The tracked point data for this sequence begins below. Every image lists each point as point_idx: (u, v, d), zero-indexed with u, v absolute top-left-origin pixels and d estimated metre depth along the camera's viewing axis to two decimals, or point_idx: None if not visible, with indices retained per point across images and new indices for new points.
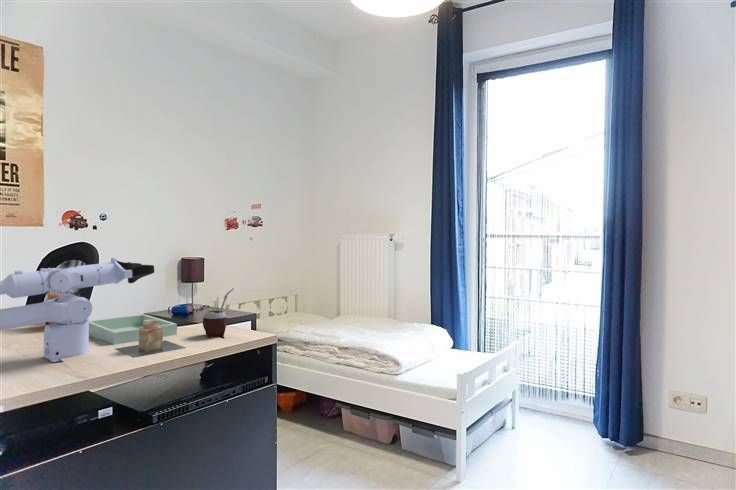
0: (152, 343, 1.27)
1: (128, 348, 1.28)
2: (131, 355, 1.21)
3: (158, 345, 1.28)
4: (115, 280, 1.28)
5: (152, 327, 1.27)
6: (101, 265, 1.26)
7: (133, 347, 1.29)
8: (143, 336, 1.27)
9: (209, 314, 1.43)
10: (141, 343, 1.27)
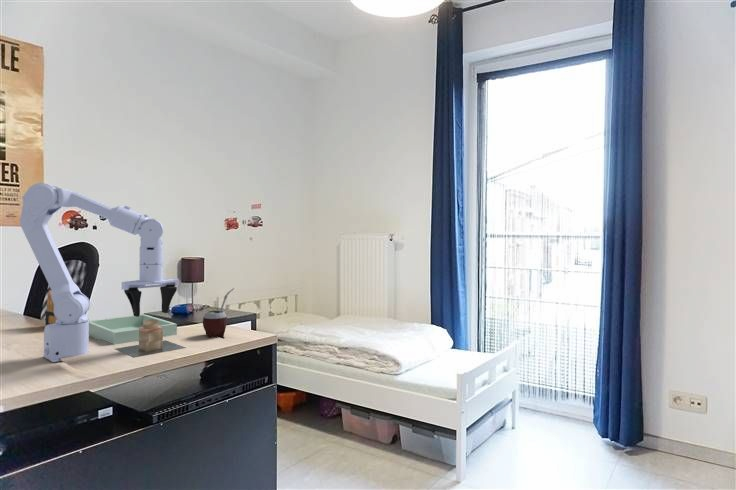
0: (152, 343, 1.27)
1: (128, 348, 1.28)
2: (131, 355, 1.21)
3: (158, 345, 1.28)
4: None
5: (152, 327, 1.27)
6: (150, 268, 1.25)
7: (133, 347, 1.29)
8: (143, 336, 1.27)
9: (209, 314, 1.43)
10: (141, 343, 1.27)
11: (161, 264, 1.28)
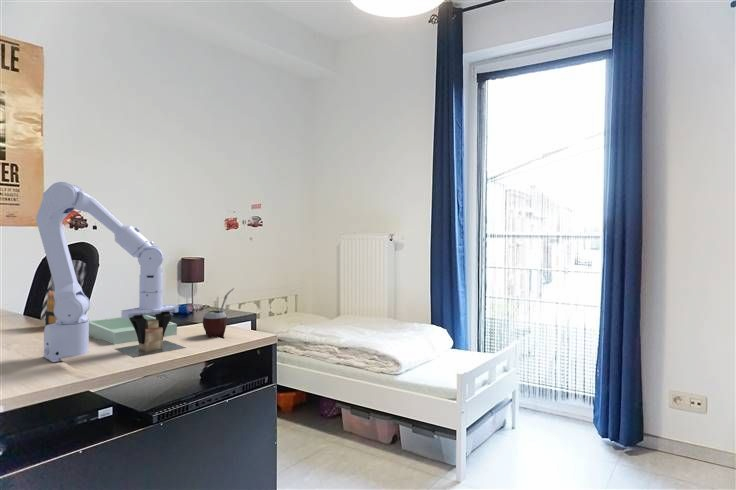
0: (152, 343, 1.27)
1: (128, 348, 1.28)
2: (131, 355, 1.21)
3: (158, 345, 1.28)
4: None
5: (152, 327, 1.27)
6: (149, 296, 1.26)
7: (133, 347, 1.29)
8: None
9: (209, 314, 1.43)
10: None
11: (161, 292, 1.28)
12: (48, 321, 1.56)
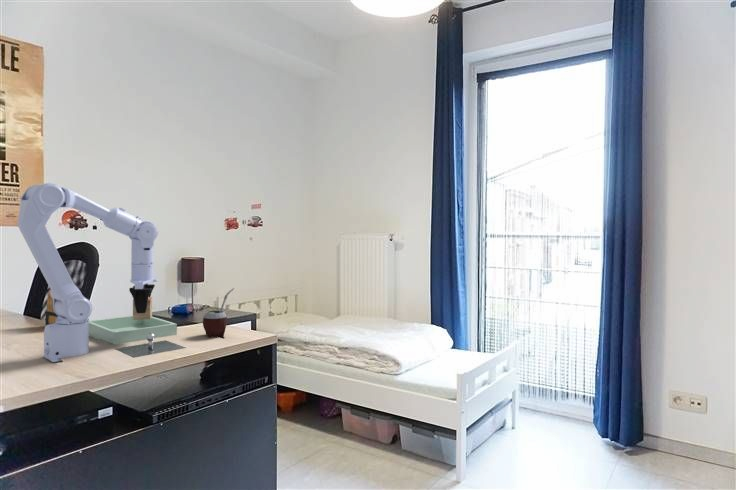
0: (150, 311, 1.36)
1: (128, 348, 1.28)
2: (131, 355, 1.21)
3: (151, 313, 1.37)
4: (133, 278, 1.33)
5: (148, 297, 1.36)
6: (151, 267, 1.35)
7: (133, 347, 1.29)
8: None
9: (209, 314, 1.43)
10: (139, 314, 1.33)
11: None
12: (48, 321, 1.56)
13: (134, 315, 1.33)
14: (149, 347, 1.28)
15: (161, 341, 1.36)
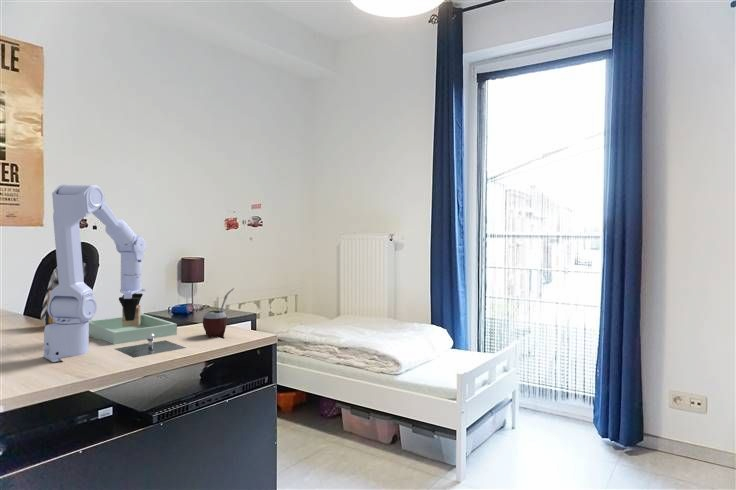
0: (139, 319, 1.46)
1: (128, 348, 1.28)
2: (131, 355, 1.21)
3: (139, 320, 1.48)
4: (123, 288, 1.43)
5: None
6: (139, 278, 1.45)
7: (133, 347, 1.29)
8: None
9: (209, 314, 1.43)
10: (128, 321, 1.44)
11: None
12: (48, 321, 1.56)
13: (123, 322, 1.44)
14: (149, 347, 1.28)
15: (161, 341, 1.36)
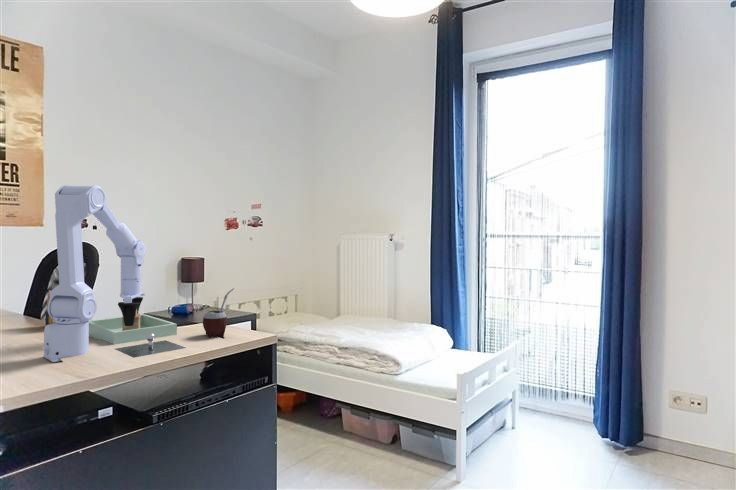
0: (139, 327, 1.46)
1: (128, 348, 1.28)
2: (131, 355, 1.21)
3: None
4: (123, 292, 1.43)
5: (136, 314, 1.46)
6: (139, 282, 1.45)
7: (133, 347, 1.29)
8: None
9: (209, 314, 1.43)
10: None
11: None
12: (48, 321, 1.56)
13: None
14: (149, 347, 1.28)
15: (161, 341, 1.36)
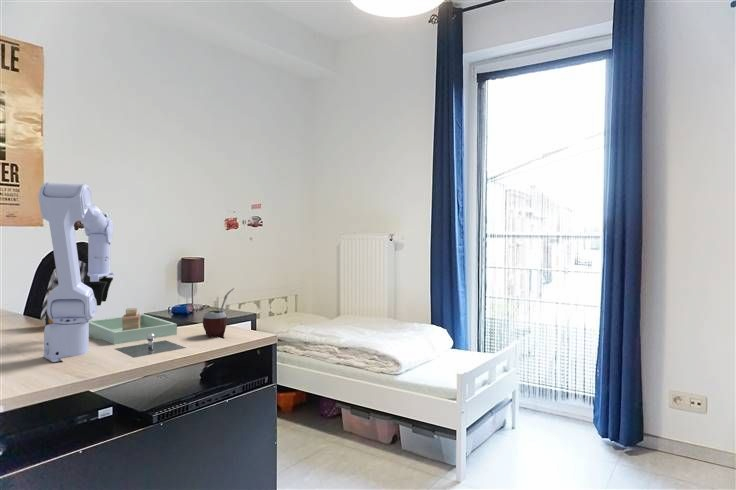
0: (139, 327, 1.46)
1: (128, 348, 1.28)
2: (131, 355, 1.21)
3: None
4: (90, 271, 1.39)
5: (136, 314, 1.46)
6: (107, 261, 1.41)
7: (133, 347, 1.29)
8: (132, 323, 1.44)
9: (209, 314, 1.43)
10: None
11: None
12: (48, 321, 1.56)
13: None
14: (149, 347, 1.28)
15: (161, 341, 1.36)
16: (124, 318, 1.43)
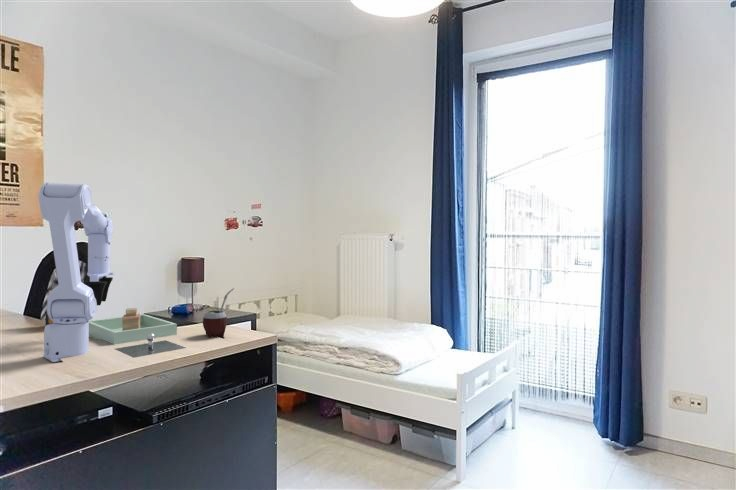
0: (139, 327, 1.46)
1: (128, 348, 1.28)
2: (131, 355, 1.21)
3: None
4: (90, 271, 1.39)
5: (136, 314, 1.46)
6: (107, 261, 1.41)
7: (133, 347, 1.29)
8: (132, 323, 1.44)
9: (209, 314, 1.43)
10: None
11: None
12: (48, 321, 1.56)
13: None
14: (149, 347, 1.28)
15: (161, 341, 1.36)
16: (124, 318, 1.43)
